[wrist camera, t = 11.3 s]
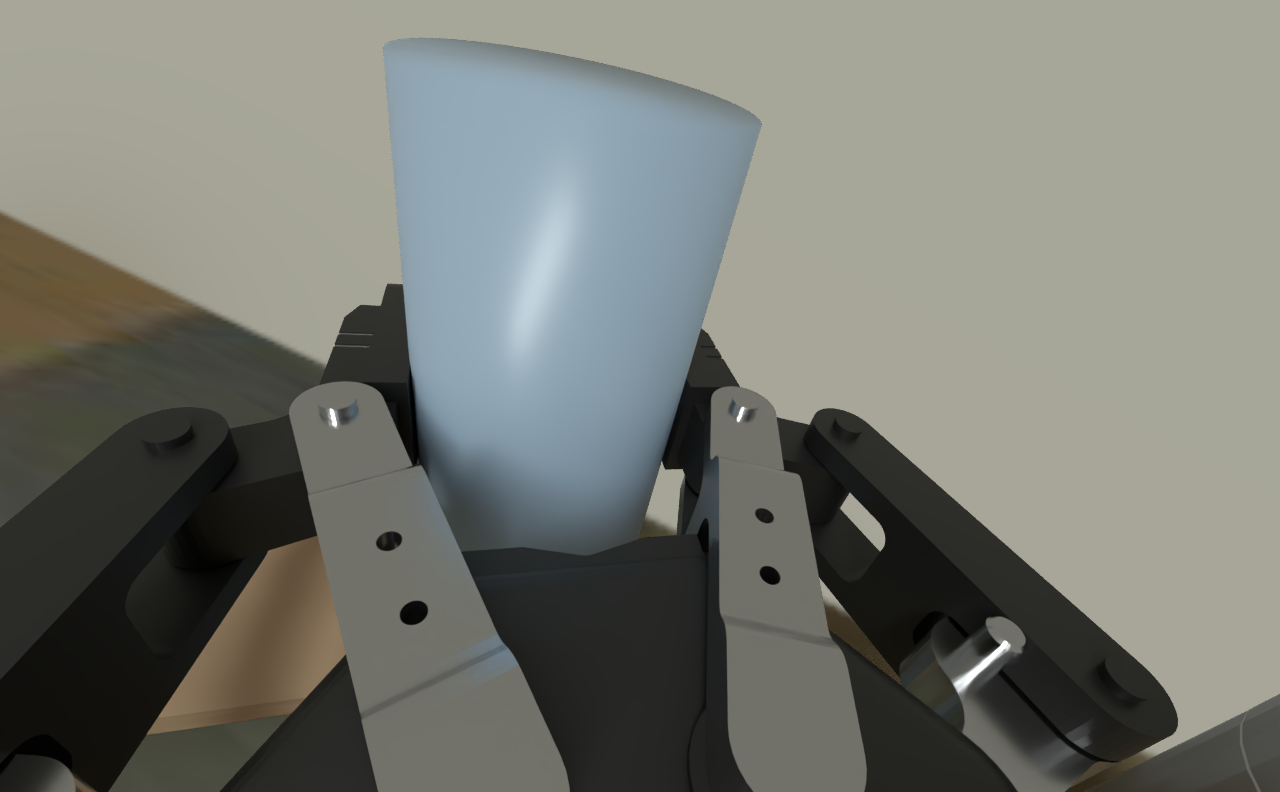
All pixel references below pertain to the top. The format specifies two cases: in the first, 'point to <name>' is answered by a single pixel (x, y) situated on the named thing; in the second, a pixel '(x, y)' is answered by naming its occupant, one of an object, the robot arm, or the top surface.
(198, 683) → the walnut board
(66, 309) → the top surface
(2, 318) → the top surface
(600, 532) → the canister
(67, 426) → the top surface
